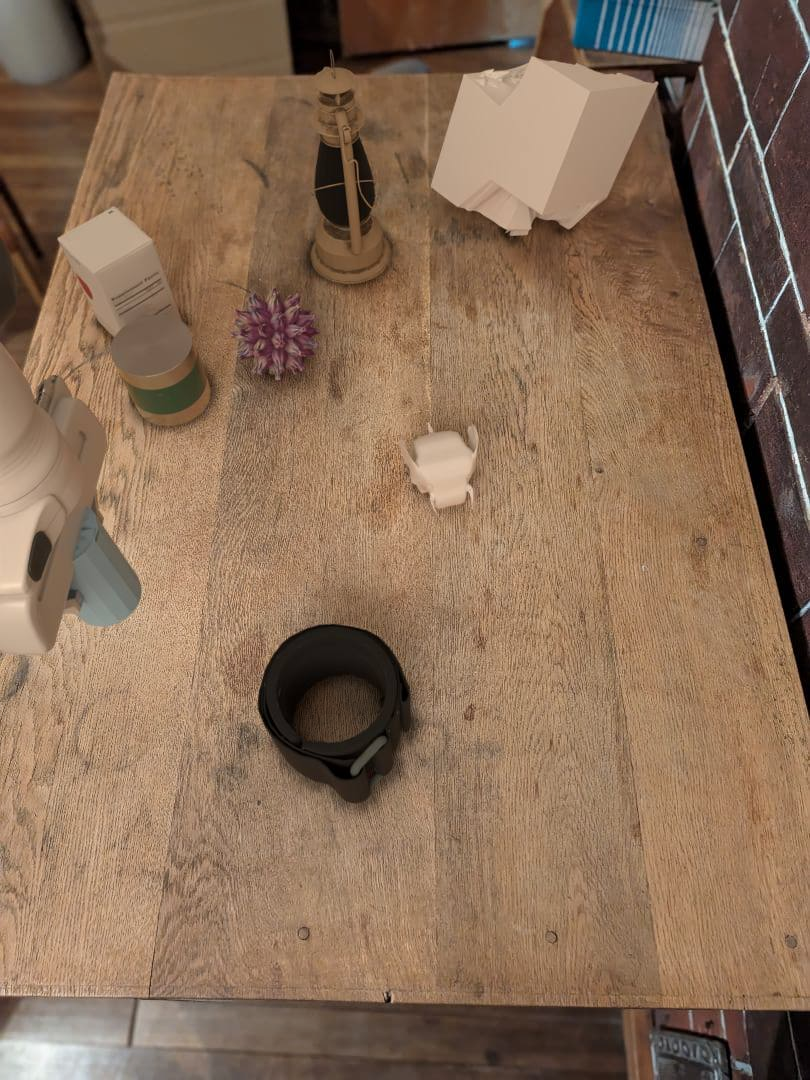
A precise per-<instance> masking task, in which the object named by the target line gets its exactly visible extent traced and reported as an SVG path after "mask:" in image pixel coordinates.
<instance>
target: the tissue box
mask: <svg viewBox="0 0 810 1080" xmlns="http://www.w3.org/2000/svg"><path fill="white" fill-rule="evenodd" d="M658 85H659V82H658V81H655V82H654V83H652V82H648V81H647V82H646V81H643V80H641V79H639V78H637V77H634V76H631V75H627V74H624V73H622V72H617V73H616V74H615V73H603V72H599V71H596V70H593V69H592V68H589V67H586V66H585V65H583V64H579V63H578V62H576V63H575V64H572V63H567V62H560V61H558V60H548V59H541V58H538V57H537V56H534V55H531V57H530V59H529V61H528V62H527V63H524V64H522V65H520V66H516V67H513V68H509V69H503V70H495V68H490V69H487V70H483V71H481V72H472V73H463V76H462V80H461V83H460V87H459V89H458V92H457V93H458V94H457V96H456V100H455V103H454V106H453V109H452V112H451V116H450V120H449V123H448V126H447V130H446V133H445V136H444V140H443V143H442V147H441V150H440V152H439V157H438V159H437V162H436V163H437V164H436V167H435V171H434V174H433V176H432V180H431V184H430V188H431V189H432V190H434V191H435V192H436V193H438V194H439V195H441V197H443V198H444V199H446V200H447V201H449V202H450V203H451V204H452V205H454V206H455V207H457V208H462V209H465V210H466V211H467V212H472V211H474V212H477V213H480V214H481V215H482V216H484V217H486V218H487V219H489V220H490V221H492V222H493V223H495V224H496V225H497V226H499V227H501V228H503V229H504V230H506V231H505V234H506V233H509V236H510V237H512V236H515V237H516V236H528V235H529V233H530V230H532V225H533V222H534V219H536V218H537V219H540V220H543V221H556V223H558V224H559V226H562V227H564V228H565V229H567V230H571V229H572V228H573V227H574V226H576V225H577V223H579V222H580V221H581V220H582V219H584V217H586V216H587V215H588V214H589V213H590V212H592V210H594V209H595V208H596V207H597V206H598V205H600V204H601V203H602V202H603V201H605V200H606V199H608V196H609V195H610V193H611V190H612V189H613V187H614V186H613V185H614V183H615V181H616V179H617V176H618V174H619V172H620V170H621V168H622V166H623V163H624V161H625V159H626V157H627V154H628V152H629V150H630V148H631V145H632V143H633V140H634V139H635V137H636V134H637V132H638V130H639V127H640V126H641V123H642V120H643V119H644V117H645V114H646V112H647V109H648V108H649V105H650V103H651V101H652V99H653V96H654V94H655V91H656V89H657V88H658Z"/></svg>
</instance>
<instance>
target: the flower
mask: <svg viewBox="0 0 810 1080" xmlns="http://www.w3.org/2000/svg"><path fill="white" fill-rule="evenodd" d="M269 289H270V290H269V294H268V295H267V297H266V298H265V300H264V299H263V298H261V297H259V296H258V295H257V294H256V292H254V291H253V292H252V293H250V294H249V295H247V297H245V301H246V302H247V307H248V310H239V309H237V308H234V309H233V310H234V312H233V314H234V315H236V316H237V317H238V318H235V317H234V318H233V320H232V324H233V325H234V326H236V327H237V328H238V329H237V330H235V331H233V332H229V335H228V336H229V338H231V339H236V340H238V341H240V344H239V346H238V347H237V348H235V349H234V352H235V354H236V355H237V359H238V361H243V360H247V359H248V360H250V359H253V365H252V366H253V367H252V369H251V372H252V373H253V375H255V374H256V373H257V375H259V376H262V375H263V374H264V372H265V371H266V370H269V371H268V373H269V374H270V375H274V378H275V381H276V382H278V381H282V376H283V372H284V371H285V369H288V370H289V371H291V373H292V374H293V375H297V374H299V372H303V371H305V370H306V366H305V364H304V359H303V358H304V357H309V358H311V359H314V358H315V356H316V352H314V351H312V349H318V348H319V346H320V344H319V342H317V341H315V340H313V339H312V338H313V337H314V336H317V335H321V328H317V327H316V328H315V327H313V326H312V324H313V323H314V322H315V321H317V320H318V318H317V315H316V314H312V311H311V310H312V309H311V308H310V307H309V308H307V309H305V310H301V308H302V304H301V303H300V300H301V299H302V294H300V293H299V292H297V293H295V295H294V296H293V295H291V294H289V295H288V296H287V298H286V299H285V300H284V301H283V299H282V298H281V296H280V291H278V290H277V287H276V286H270V288H269ZM310 314H312V315H310ZM298 370H299V371H298Z"/></svg>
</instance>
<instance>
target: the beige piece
mask: <svg viewBox="0 0 810 1080" xmlns="http://www.w3.org/2000/svg"><path fill="white" fill-rule="evenodd" d="M426 425H427V430H428V434H424V435H422V436H419V437H417V438H416V439H414V440H413V441H412V442H411V444H410V448H409V450H408V447H407V444H406V442H405V440H403V439H401V438H400V439H399V440H398V441H396V442H395V443H396V444H397V446H398V447H399V448H400V449H401V456H402V459H403V461H404V463H405V465H406V466H407V467H408V469H409V475H410V476H409V478H410V482H411V484H413V485H414V486H416V488H417V490H418V491H419V493H421V494H426V493H428V494H429V502H430V503H431V507H432V509H433V511H434V513H435V514H436V516H437V517H438V518H439V514H438V511H437V509H445V508H448V507H452V506H456V505H461V504H465V502H466V500H467V495H468V494H467V493H469V496H470V501H471V502H470V503H471V510H474V501H475V498H474V497H475V495H474V488H473V486H472V485H471V484H470V483H469V482H470V480H471V477H472V476H473V474H474V472H475V471H476V470H477V455H478V450H479V433H478V432H477V431H478V430H477V428H476V425H475V424H474V423H473V422H472V423H471V424H470V426H469V427H468V428H467V430H466V433H467V436H468V446H467V445H466V443H465V441H464V440H463V437H462V436H461V435H460V433H459V432H457V431H454V430H442V431H437V432H435V431H434V429H433V428H432V425H431V422H426Z"/></svg>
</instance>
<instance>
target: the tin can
mask: <svg viewBox="0 0 810 1080" xmlns="http://www.w3.org/2000/svg"><path fill="white" fill-rule="evenodd" d="M110 357H111V360H112V362H113V365H114V366H115V368H116V369H117V373H118V375H119V377H120V378H121V380H122V383H123V385H124V387H125V389H126V391H127V392H128V394H129V396H130V399H131V400H132V402H133V404H134V406H135V408H136V410H137V411H138V413H139V415H140V416H141V417H142V418H143V419H144V420H146V421H147V422H149V423H150V424H152V425H156V426H160V427H175V426H176V427H177V426H180V425H184V424H187V423H188V422H190V421H193V420H194V419H196V418H197V417H199V416H200V415H201V414H202V413H203V412H204V410H206V408H207V406H208V405H209V402H210V399H211V397H212V396H211V393H212V390H211V385H210V381H209V379H208V376H207V372H206V369H205V367H204V364H203V361H202V358H201V355H200V353H199V350H198V348H197V345H196V343H195V340H194V337H193V334H192V332H191V330H190V328H189V326H188V325H186V323H185V322H183V320H182V321H180V320H179V319H177V318H175V317H172V316H168V315H148V316H144V317H141V318H138V319H135V320H133V321H131V322H130V323H128V324H127V325H125V326H124V327H123V328H122V329H121V330H120V331H119V332H118V333H117V334H116V336H115V337H113V339H112V342H111V345H110Z"/></svg>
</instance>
